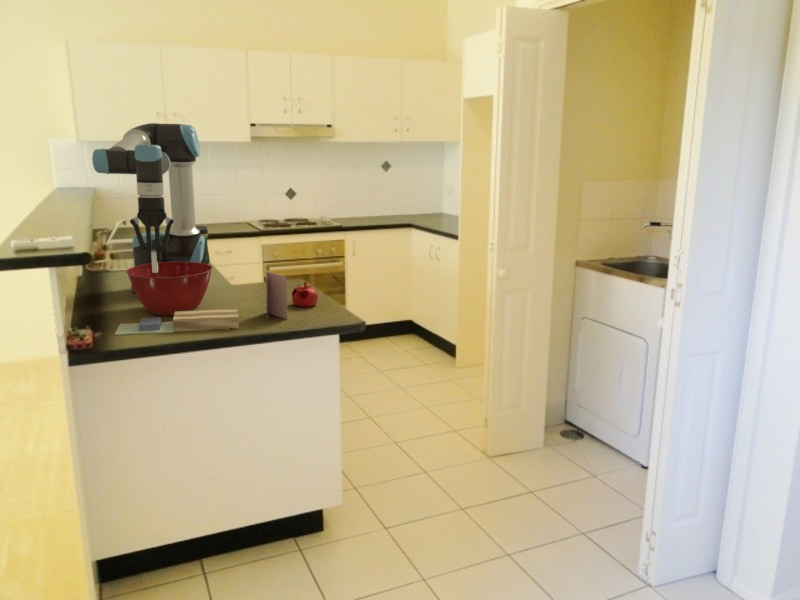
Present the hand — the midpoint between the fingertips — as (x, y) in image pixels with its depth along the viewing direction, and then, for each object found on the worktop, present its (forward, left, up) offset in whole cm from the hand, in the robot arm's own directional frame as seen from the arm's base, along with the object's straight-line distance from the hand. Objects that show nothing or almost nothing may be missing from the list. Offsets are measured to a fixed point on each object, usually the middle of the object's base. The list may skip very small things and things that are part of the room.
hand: (155, 271), depth 198 cm
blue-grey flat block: (0, -2, -16) cm, 16 cm away
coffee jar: (-110, +10, -19) cm, 112 cm away
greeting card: (-8, +38, -19) cm, 43 cm away
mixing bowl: (-21, +3, -19) cm, 28 cm away
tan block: (0, +15, -18) cm, 24 cm away
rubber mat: (+1, -4, -18) cm, 19 cm away
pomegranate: (-23, +50, -19) cm, 58 cm away
